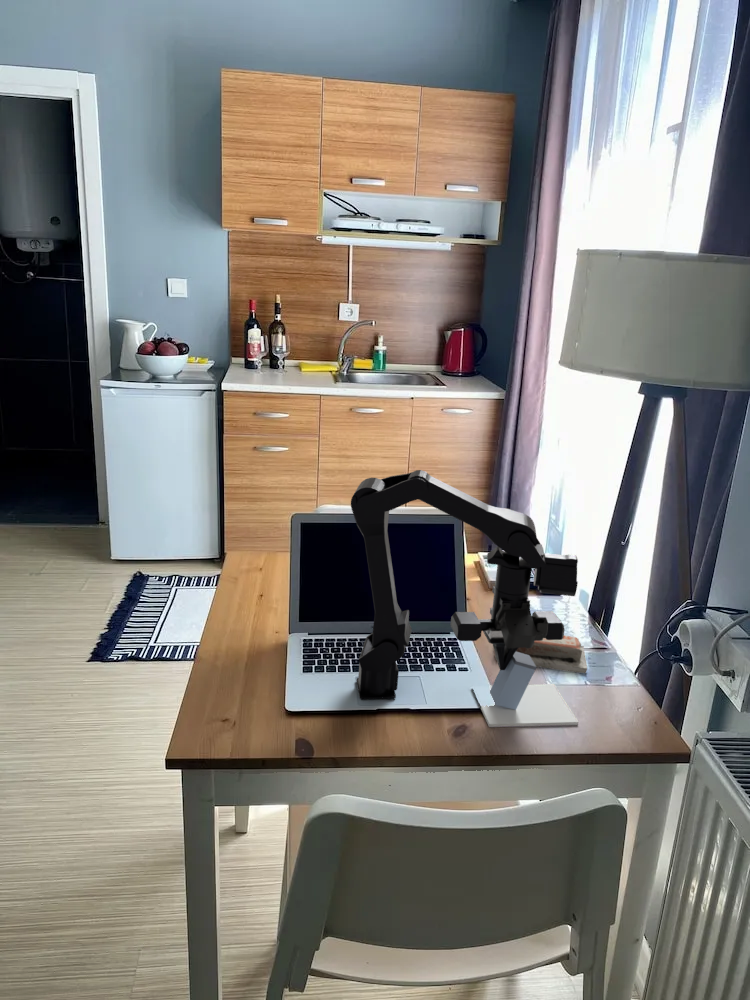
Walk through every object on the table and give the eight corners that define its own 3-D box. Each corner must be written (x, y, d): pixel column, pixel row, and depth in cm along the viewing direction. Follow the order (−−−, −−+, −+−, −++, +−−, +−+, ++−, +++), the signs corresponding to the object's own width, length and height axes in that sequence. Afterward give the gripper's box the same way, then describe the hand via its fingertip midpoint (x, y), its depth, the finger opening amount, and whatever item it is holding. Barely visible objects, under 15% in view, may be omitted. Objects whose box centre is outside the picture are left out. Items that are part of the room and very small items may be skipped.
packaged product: (497, 640, 151) (498, 618, 160) (494, 662, 152) (496, 639, 162) (590, 654, 148) (586, 630, 157) (586, 676, 149) (583, 651, 159)
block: (495, 704, 134) (516, 661, 132) (489, 691, 138) (509, 649, 135) (515, 709, 135) (536, 667, 133) (509, 697, 139) (529, 655, 136)
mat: (488, 727, 130) (489, 724, 130) (471, 688, 142) (471, 685, 142) (577, 724, 133) (578, 721, 133) (553, 687, 144) (554, 684, 144)
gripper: (469, 609, 120) (460, 695, 125) (582, 609, 123) (569, 693, 128) (454, 580, 131) (446, 660, 136) (558, 580, 133) (546, 659, 138)
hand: (501, 669), depth 134 cm, fingers closed
